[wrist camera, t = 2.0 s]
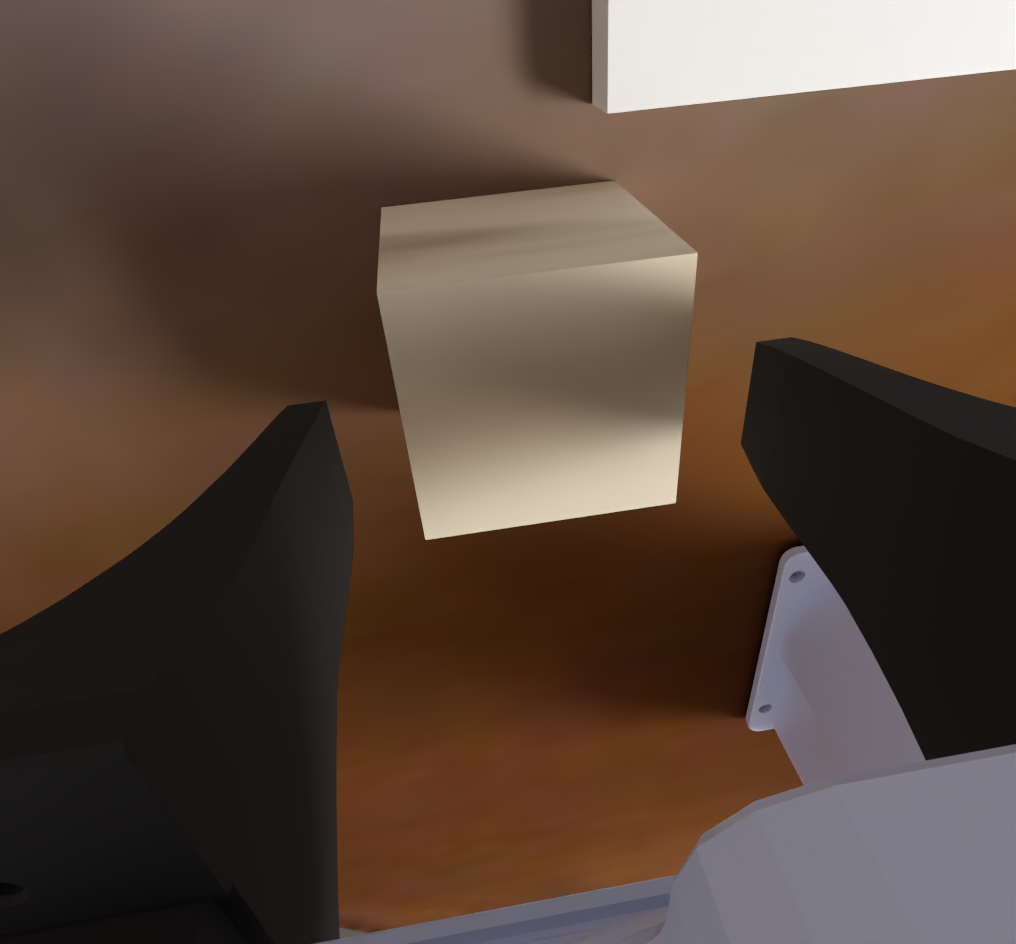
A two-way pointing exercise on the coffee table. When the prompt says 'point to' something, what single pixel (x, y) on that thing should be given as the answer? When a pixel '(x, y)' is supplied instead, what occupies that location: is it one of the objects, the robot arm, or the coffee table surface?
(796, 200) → the coffee table surface
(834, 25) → the plinth base
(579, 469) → the birch cube
